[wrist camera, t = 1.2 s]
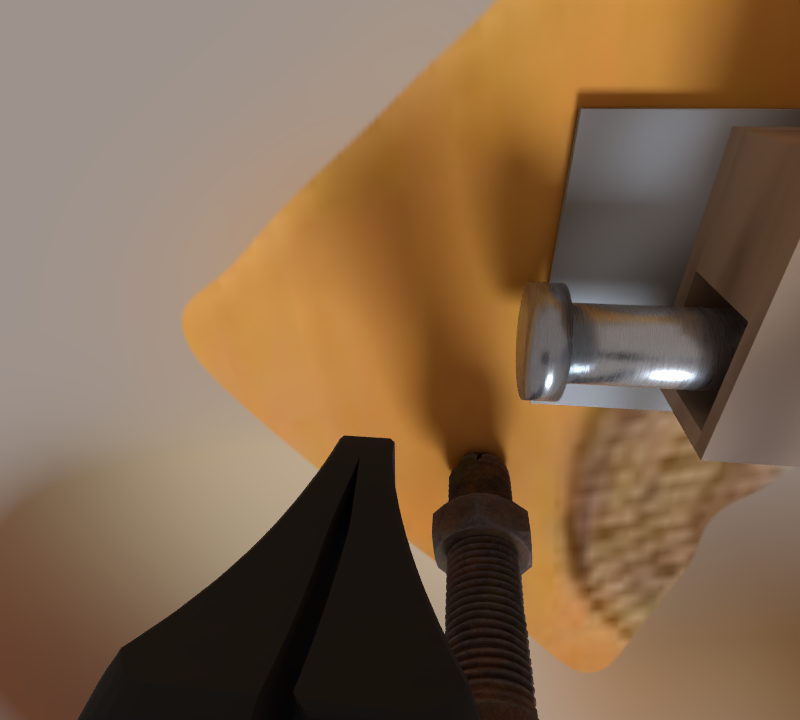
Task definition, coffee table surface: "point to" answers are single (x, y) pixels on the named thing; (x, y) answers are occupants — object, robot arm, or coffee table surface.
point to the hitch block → (695, 257)
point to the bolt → (487, 586)
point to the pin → (619, 344)
